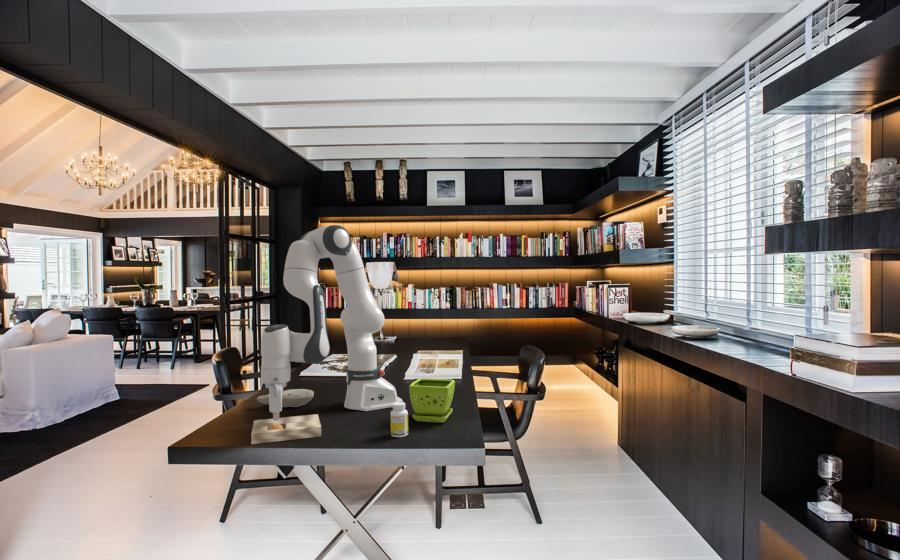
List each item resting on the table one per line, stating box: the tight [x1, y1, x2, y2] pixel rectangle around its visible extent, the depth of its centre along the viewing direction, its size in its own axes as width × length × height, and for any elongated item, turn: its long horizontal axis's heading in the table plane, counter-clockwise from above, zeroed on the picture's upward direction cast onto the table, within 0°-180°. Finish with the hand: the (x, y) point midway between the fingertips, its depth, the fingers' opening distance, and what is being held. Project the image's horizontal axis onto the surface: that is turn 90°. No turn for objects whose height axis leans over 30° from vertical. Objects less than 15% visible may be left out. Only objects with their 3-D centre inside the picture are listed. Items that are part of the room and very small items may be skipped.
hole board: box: [250, 413, 322, 445], centre depth 151 cm, size 20×15×3 cm
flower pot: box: [408, 378, 456, 424], centre depth 165 cm, size 14×14×13 cm
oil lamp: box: [256, 388, 315, 408], centre depth 184 cm, size 21×14×5 cm
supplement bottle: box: [390, 401, 409, 438], centre depth 148 cm, size 5×5×10 cm
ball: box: [270, 424, 283, 430], centre depth 147 cm, size 4×4×4 cm
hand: (276, 419), depth 151 cm, fingers closed
